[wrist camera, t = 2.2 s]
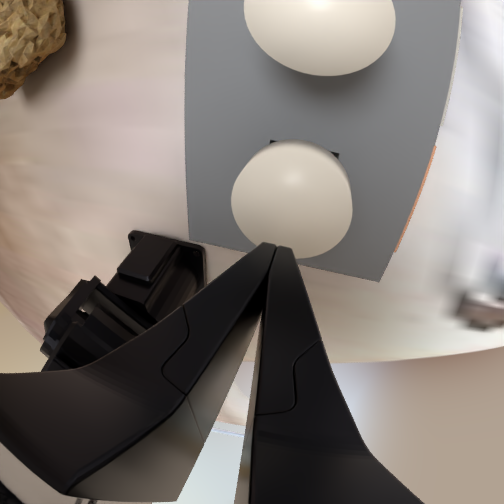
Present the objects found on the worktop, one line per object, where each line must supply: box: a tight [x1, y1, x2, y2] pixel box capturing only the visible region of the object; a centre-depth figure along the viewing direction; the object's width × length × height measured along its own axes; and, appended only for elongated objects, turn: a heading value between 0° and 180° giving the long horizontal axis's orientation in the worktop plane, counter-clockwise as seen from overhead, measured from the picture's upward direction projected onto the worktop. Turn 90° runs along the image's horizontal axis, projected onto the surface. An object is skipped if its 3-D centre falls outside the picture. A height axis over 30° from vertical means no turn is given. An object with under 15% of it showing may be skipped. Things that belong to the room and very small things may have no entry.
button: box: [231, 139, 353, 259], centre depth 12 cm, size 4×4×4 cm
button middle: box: [244, 0, 396, 76], centre depth 7 cm, size 4×4×4 cm
